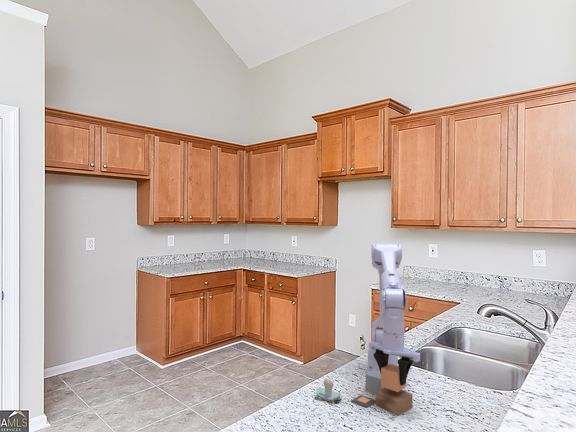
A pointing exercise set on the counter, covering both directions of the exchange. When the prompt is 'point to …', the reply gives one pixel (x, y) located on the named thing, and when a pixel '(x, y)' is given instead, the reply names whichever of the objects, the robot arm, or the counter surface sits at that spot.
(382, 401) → the walnut block
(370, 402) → the card
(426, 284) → the counter surface
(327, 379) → the pacifier
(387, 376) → the terracotta block
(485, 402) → the counter surface
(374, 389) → the slate block
